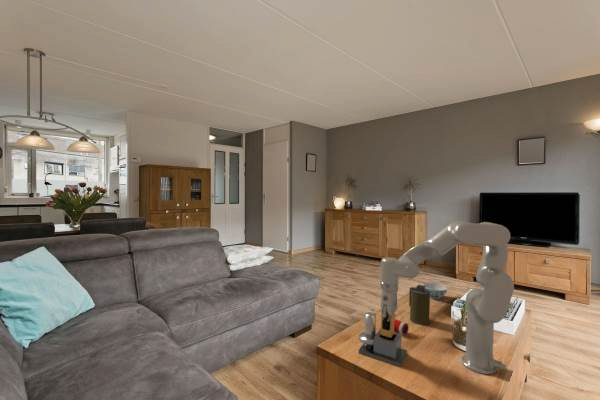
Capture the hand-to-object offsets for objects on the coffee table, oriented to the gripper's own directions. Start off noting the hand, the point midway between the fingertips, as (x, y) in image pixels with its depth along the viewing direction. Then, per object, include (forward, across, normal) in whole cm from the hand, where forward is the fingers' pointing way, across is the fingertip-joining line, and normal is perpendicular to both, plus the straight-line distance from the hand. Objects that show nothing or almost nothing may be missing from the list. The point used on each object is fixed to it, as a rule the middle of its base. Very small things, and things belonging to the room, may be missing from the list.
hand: (387, 326), depth 127 cm
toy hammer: (+13, +20, +5) cm, 24 cm away
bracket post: (+12, 0, +4) cm, 13 cm away
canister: (+12, +45, -5) cm, 47 cm away
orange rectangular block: (+3, 0, 0) cm, 3 cm away
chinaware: (+12, +90, -7) cm, 91 cm away
